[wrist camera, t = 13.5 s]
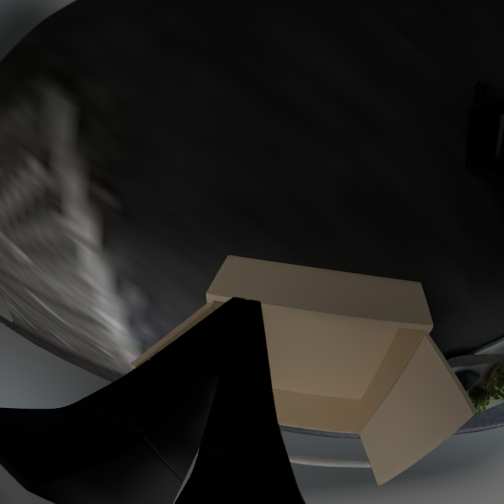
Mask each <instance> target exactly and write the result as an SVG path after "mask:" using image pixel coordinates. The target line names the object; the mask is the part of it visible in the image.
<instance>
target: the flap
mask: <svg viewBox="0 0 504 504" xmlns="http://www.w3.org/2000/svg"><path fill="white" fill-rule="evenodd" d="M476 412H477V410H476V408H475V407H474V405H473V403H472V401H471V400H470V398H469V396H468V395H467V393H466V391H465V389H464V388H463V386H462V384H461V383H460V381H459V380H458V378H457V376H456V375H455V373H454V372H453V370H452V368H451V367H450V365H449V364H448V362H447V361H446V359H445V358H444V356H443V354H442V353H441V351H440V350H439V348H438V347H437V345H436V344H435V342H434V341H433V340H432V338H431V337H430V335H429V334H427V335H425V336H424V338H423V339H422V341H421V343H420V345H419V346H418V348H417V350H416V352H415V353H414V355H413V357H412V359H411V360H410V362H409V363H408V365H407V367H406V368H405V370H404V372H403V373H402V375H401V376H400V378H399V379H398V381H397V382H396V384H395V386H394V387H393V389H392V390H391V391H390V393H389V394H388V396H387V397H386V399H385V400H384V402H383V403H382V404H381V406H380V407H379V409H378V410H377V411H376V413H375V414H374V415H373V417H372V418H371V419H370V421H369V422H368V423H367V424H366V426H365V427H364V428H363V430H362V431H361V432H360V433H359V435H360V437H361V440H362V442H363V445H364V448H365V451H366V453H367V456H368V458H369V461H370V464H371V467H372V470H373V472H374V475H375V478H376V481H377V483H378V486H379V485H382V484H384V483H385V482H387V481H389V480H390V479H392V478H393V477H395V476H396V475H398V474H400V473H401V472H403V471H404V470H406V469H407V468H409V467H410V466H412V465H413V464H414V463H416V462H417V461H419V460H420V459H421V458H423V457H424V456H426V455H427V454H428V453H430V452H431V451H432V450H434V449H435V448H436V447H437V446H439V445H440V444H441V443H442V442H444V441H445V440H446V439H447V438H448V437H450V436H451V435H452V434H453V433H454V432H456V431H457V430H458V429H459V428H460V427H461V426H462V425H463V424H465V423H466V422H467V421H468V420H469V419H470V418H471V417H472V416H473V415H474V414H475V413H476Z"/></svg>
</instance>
